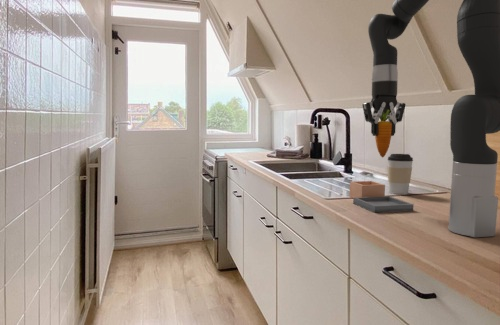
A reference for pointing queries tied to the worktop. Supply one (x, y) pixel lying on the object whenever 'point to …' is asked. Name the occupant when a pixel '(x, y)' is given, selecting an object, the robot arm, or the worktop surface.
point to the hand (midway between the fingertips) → (383, 135)
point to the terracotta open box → (366, 189)
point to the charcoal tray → (382, 204)
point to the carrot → (383, 134)
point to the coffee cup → (399, 173)
